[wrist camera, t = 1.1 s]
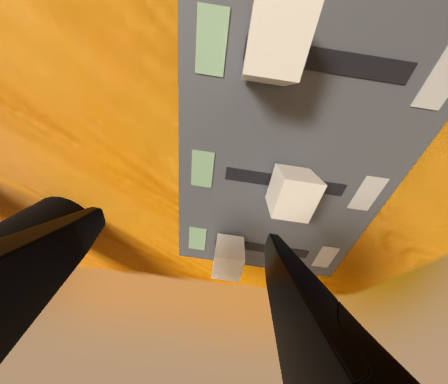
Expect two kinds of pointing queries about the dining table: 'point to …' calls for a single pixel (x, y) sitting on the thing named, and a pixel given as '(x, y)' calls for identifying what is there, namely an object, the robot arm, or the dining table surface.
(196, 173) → the grey slider switch panel
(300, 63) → the block
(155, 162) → the dining table surface
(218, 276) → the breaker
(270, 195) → the block
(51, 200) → the wine bottle
